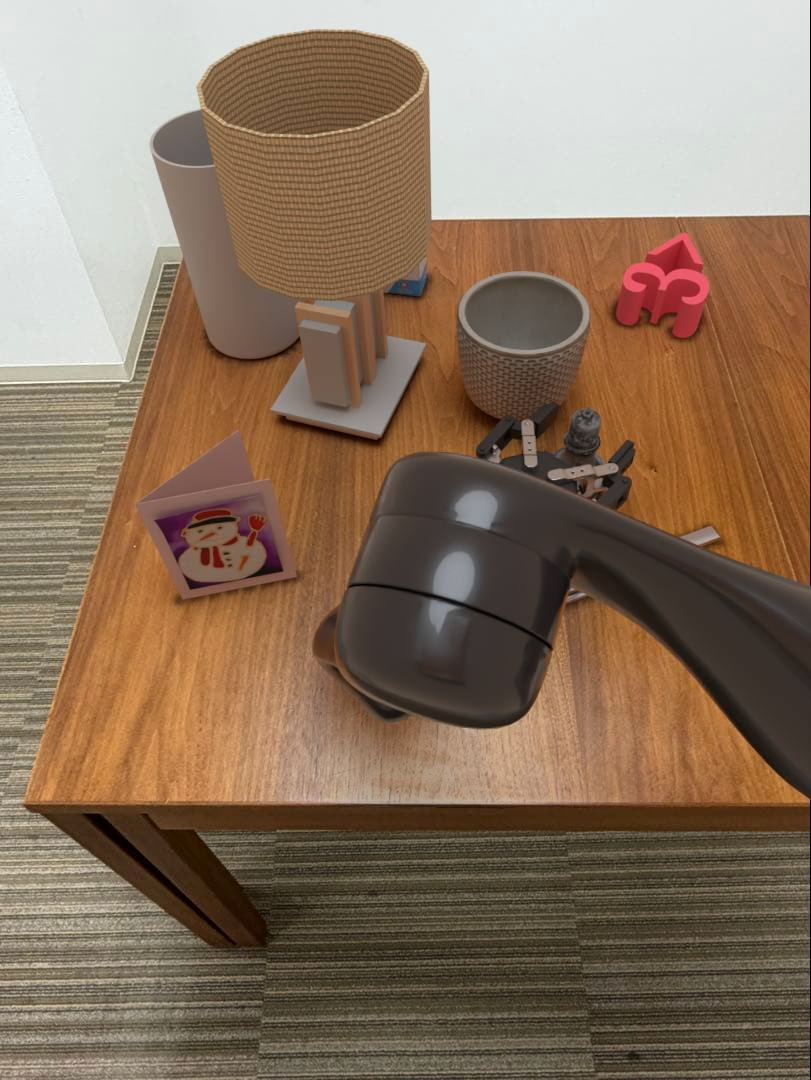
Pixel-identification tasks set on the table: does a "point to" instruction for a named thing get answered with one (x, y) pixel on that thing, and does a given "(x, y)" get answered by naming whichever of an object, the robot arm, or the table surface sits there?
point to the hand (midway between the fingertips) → (591, 427)
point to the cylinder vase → (216, 247)
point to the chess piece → (582, 441)
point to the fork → (697, 537)
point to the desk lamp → (328, 204)
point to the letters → (666, 286)
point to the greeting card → (218, 524)
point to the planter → (520, 341)
